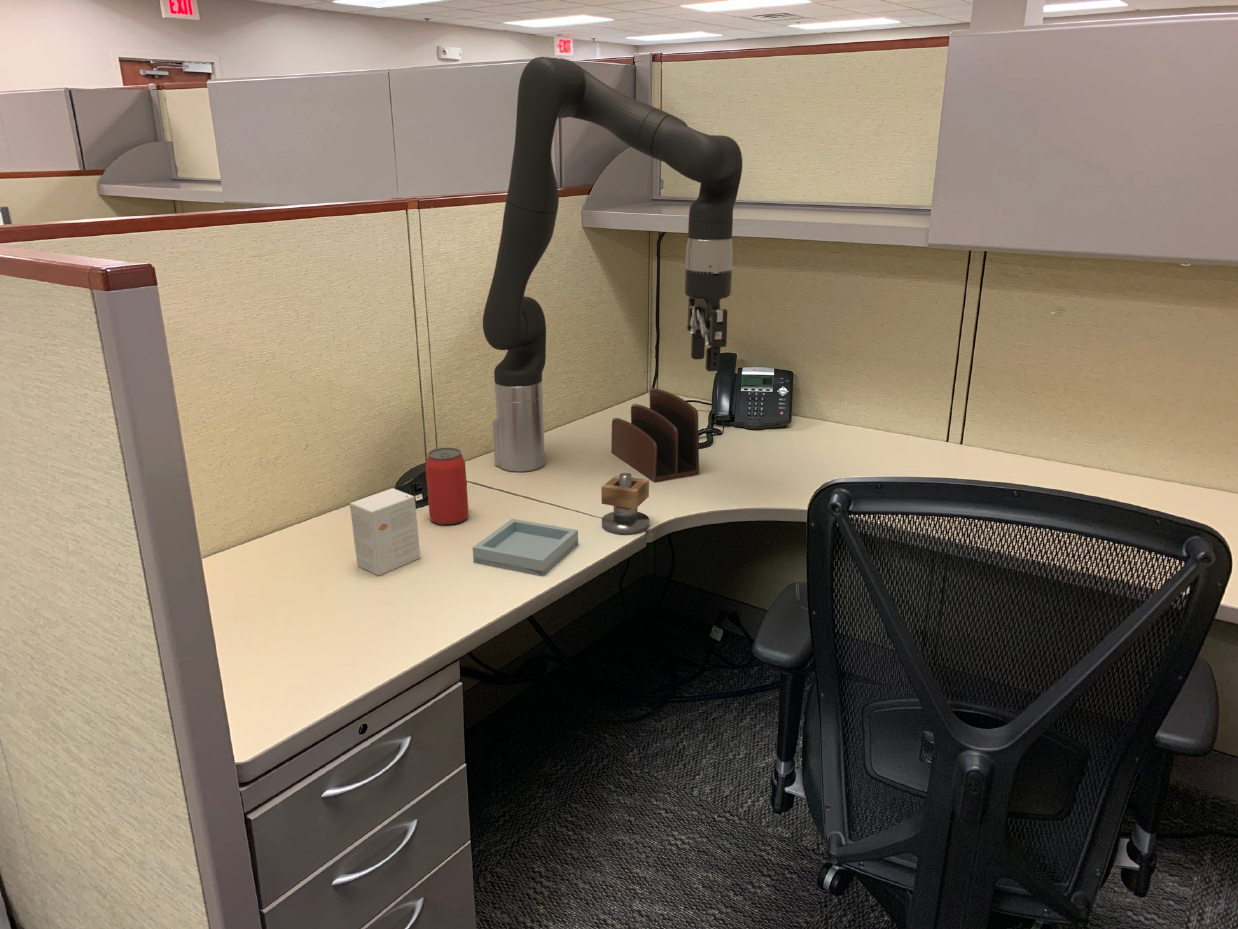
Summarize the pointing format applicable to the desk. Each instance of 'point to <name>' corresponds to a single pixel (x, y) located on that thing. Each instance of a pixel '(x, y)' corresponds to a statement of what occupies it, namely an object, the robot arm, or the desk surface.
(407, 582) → the desk surface
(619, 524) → the stepped metal shaft
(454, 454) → the beer can
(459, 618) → the desk surface
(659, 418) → the letter holder
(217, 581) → the desk surface
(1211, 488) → the desk surface
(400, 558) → the small box
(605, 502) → the wooden block
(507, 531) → the tray
